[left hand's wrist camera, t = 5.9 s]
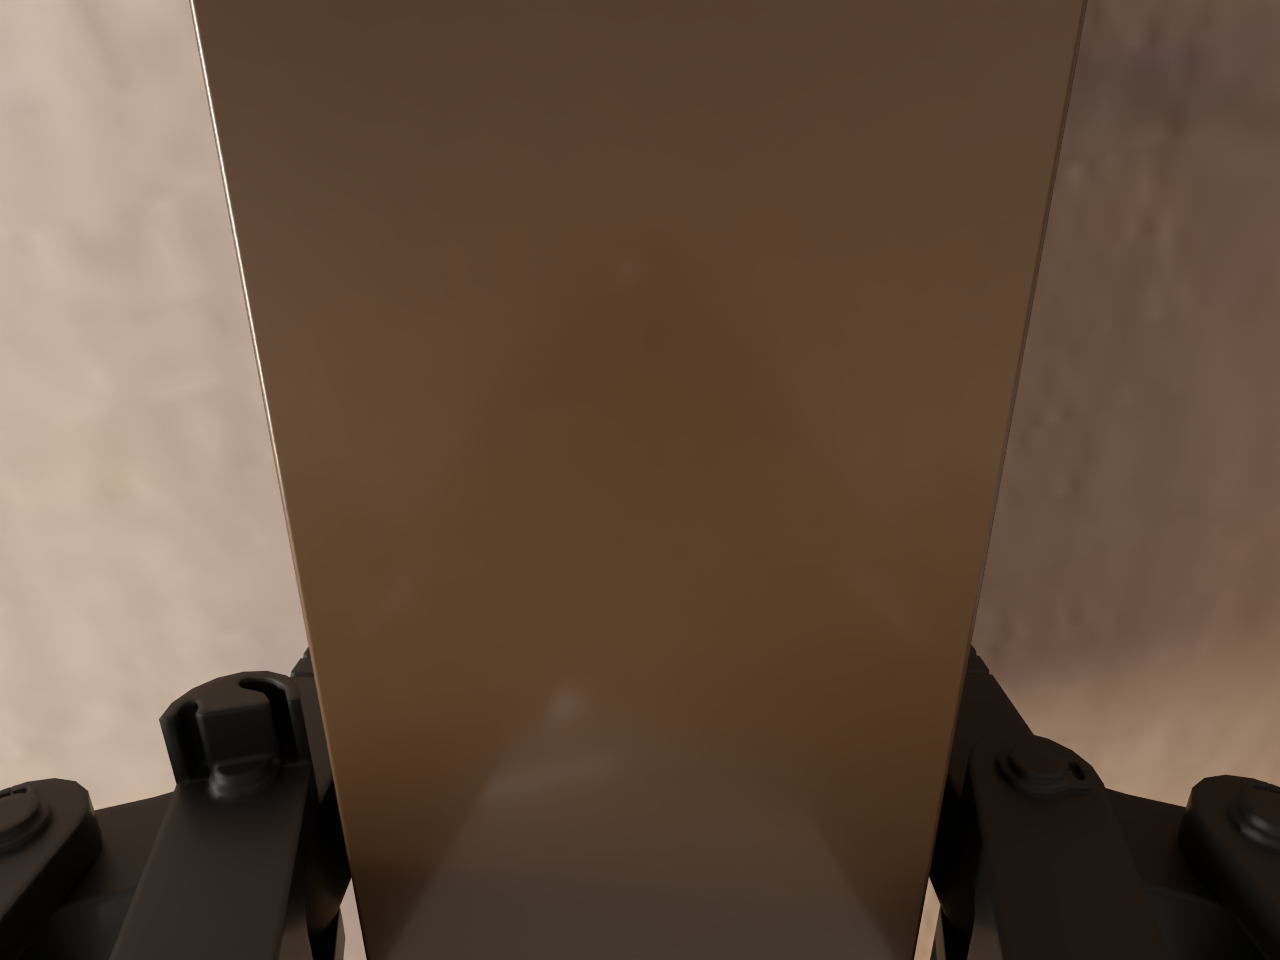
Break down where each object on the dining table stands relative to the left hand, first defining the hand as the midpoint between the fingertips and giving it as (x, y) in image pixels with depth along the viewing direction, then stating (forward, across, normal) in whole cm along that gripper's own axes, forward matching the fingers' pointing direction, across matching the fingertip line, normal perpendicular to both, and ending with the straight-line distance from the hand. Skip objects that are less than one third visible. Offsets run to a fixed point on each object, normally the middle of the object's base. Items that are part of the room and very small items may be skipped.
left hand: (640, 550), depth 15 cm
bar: (0, 0, -27) cm, 27 cm away
